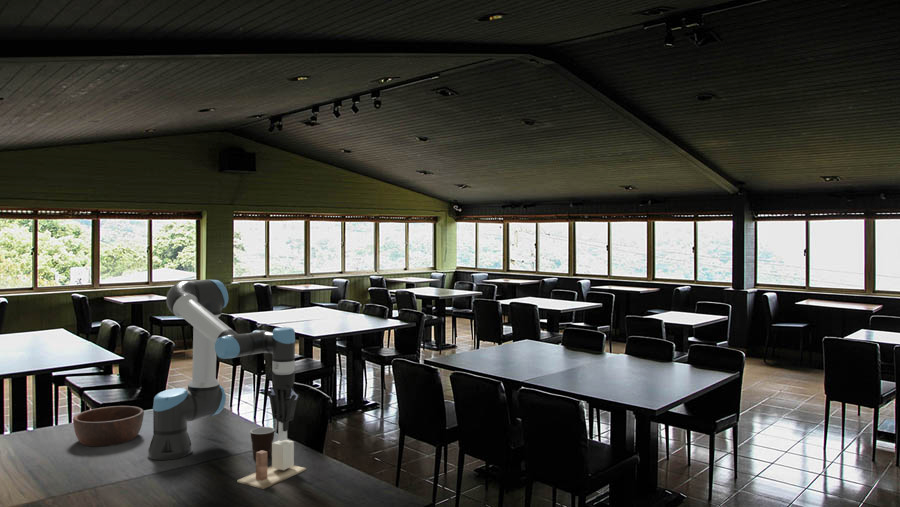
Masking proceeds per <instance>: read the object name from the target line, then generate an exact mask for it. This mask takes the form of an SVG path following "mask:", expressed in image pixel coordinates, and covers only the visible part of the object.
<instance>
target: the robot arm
mask: <svg viewBox="0 0 900 507" xmlns="http://www.w3.org/2000/svg"><path fill="white" fill-rule="evenodd" d="M165 299H166V300H165V301H166V305H167V308H168V309H169V311H170V312H171V314H173V315H174V316H175V317H177V318H179V319H183V320H185V321H186V322H187V323H188V324H190V325H191V326H192V327H193V331H192V332H193V333H192V334H193V336H192V337H193V340H192V376H191V377H192V379H191V380H190V382H188V383H187V389H186V388H185V387H176V388H168V389H166V390H163V391H160V392H158V393H157V394H156V395H155V396H154V397H153V406H152V410H153V412H152V413H153V414H152V415H153V416H152V417H153V419H152V420H153V422H152V423H153V425H152V426H153V431H152V432H153V435H152V438H151V441H150V445H149V446H148V450H147V457H148V458H149V459H151V460H157V461H158V460H159V461H169V460H175V459H180V458H183V457H186V456H188V455H190V454H191V453H192V452H193V443H192V440H191V439H190V436H189V433H188V432H189V431H188V423H189V422H194V421H198V420H201V419H205V418H211V417H213V416H216V415H218V414H220V413H221V411H222V410H223V409H224V408H225V406H226V401H227V400H226V399H227V395H226V392H225V389H224V387H223V386H222V385H220V384H221V383H220V381H219V380H218V379H217V378H216V377H217V358H219V359H221V360H222V359H223V360H225V359H226V360H227V359H234V358H240V357H246V356H252V355H257V354H262V353H263V354H271V355H272V359H271V360H272V362H271V363H272V366H271V367H272V374H271V375H272V377H271V378H272V380H271V383H272V385H273V386H272V389H270V390H267V391H266V393H267V395H268V397H269V403H270V410H271V416H272V419H275V421H277V423H276V424H277V431H278V434H277V435H278V437H277V441H283V440H288V431H289V423H290V422H289V421H293V420H294V418H295V413H296V408H297V402H298V400H299V398H300V393H296V392H295V389H294V384H295V378H296V377H295V376H296V374H295V369H296V368H295V367H296V365H295V364H296V363H295V354H296V353H295V352H296V335H295V334H296V332H295V329H294V328H293V327H288V326H287V327H285V326H284V327H283V326H282V327H275V328H274V329H273V330H272V331H267V330H265V329H261V330H260V329H256V330H253V331H252V332H249V333H248V332H247V333H237V332H236V331H235V330H234V329H233V328H231V327H230V326H228V324H226V323H225V322H223V321H222V320H221V319H220V318H219V317H221V315H222V309H224V308H226V307H227V304H228V303H229V292H228V290H227V287H226V285H225V284H224V283H223V282H222V281H220V280H218V279H199V280H183V281H182V280H181V281H178V282H177V283H175V284H174V285H172V286H171V287H170V289H169V290H168V292H167V293H166V298H165Z"/></svg>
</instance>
